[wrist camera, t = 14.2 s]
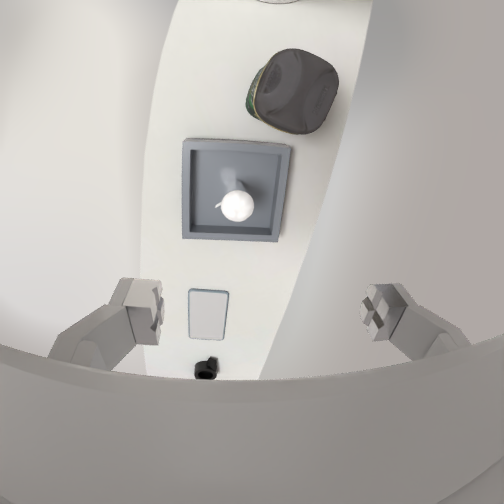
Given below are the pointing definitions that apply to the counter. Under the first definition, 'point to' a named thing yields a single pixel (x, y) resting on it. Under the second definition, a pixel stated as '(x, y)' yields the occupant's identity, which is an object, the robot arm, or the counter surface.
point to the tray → (217, 178)
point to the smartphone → (207, 313)
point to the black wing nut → (206, 370)
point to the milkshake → (236, 202)
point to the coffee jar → (293, 92)
